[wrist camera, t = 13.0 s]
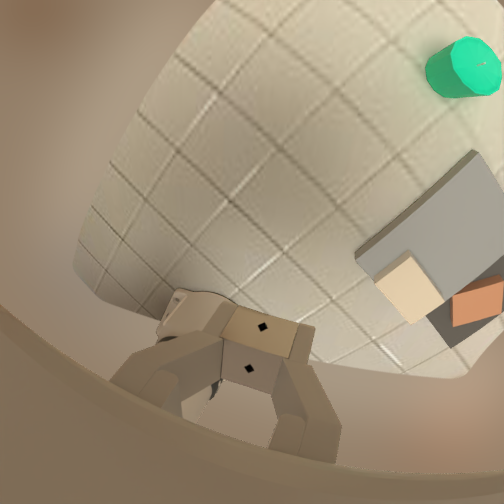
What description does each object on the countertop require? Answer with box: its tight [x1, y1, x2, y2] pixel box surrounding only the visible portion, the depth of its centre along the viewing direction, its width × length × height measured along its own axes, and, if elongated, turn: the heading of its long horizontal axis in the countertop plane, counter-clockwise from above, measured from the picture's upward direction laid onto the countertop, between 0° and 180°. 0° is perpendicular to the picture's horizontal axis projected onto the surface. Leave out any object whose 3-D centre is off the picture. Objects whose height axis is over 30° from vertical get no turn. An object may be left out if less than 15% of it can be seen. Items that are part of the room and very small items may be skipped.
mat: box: [425, 255, 504, 349], centre depth 35 cm, size 20×11×1 cm, turn 140°
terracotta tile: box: [450, 275, 504, 327], centre depth 35 cm, size 9×6×2 cm, turn 113°
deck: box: [355, 150, 504, 301], centre depth 34 cm, size 22×14×2 cm, turn 140°
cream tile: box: [374, 250, 445, 325], centre depth 36 cm, size 9×6×2 cm, turn 50°
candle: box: [425, 36, 502, 98], centre depth 20 cm, size 6×6×12 cm
